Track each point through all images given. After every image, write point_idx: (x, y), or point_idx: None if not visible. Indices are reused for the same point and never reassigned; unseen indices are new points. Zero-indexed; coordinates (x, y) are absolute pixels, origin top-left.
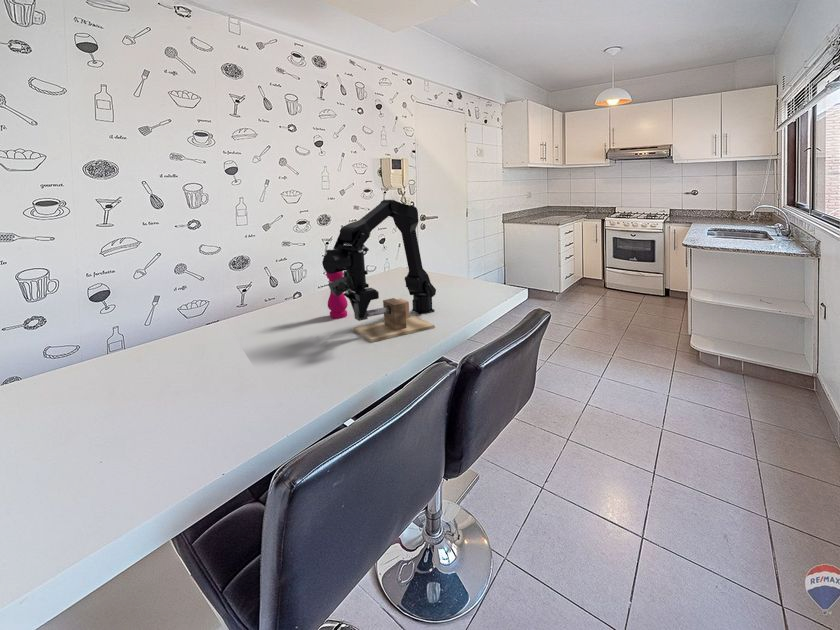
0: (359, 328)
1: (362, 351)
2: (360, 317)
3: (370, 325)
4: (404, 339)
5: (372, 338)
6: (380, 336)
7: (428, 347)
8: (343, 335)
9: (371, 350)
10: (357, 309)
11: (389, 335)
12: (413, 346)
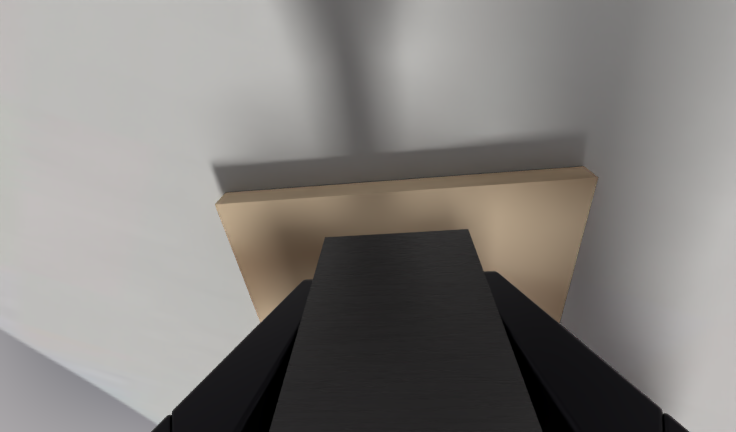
0: (529, 212)
1: (32, 66)
2: (298, 287)
3: (533, 296)
4: (217, 345)
5: (229, 217)
6: (253, 271)
7: (76, 373)
8: (528, 33)
9: (52, 137)
10: (304, 387)
11: (258, 315)
12: (99, 339)
